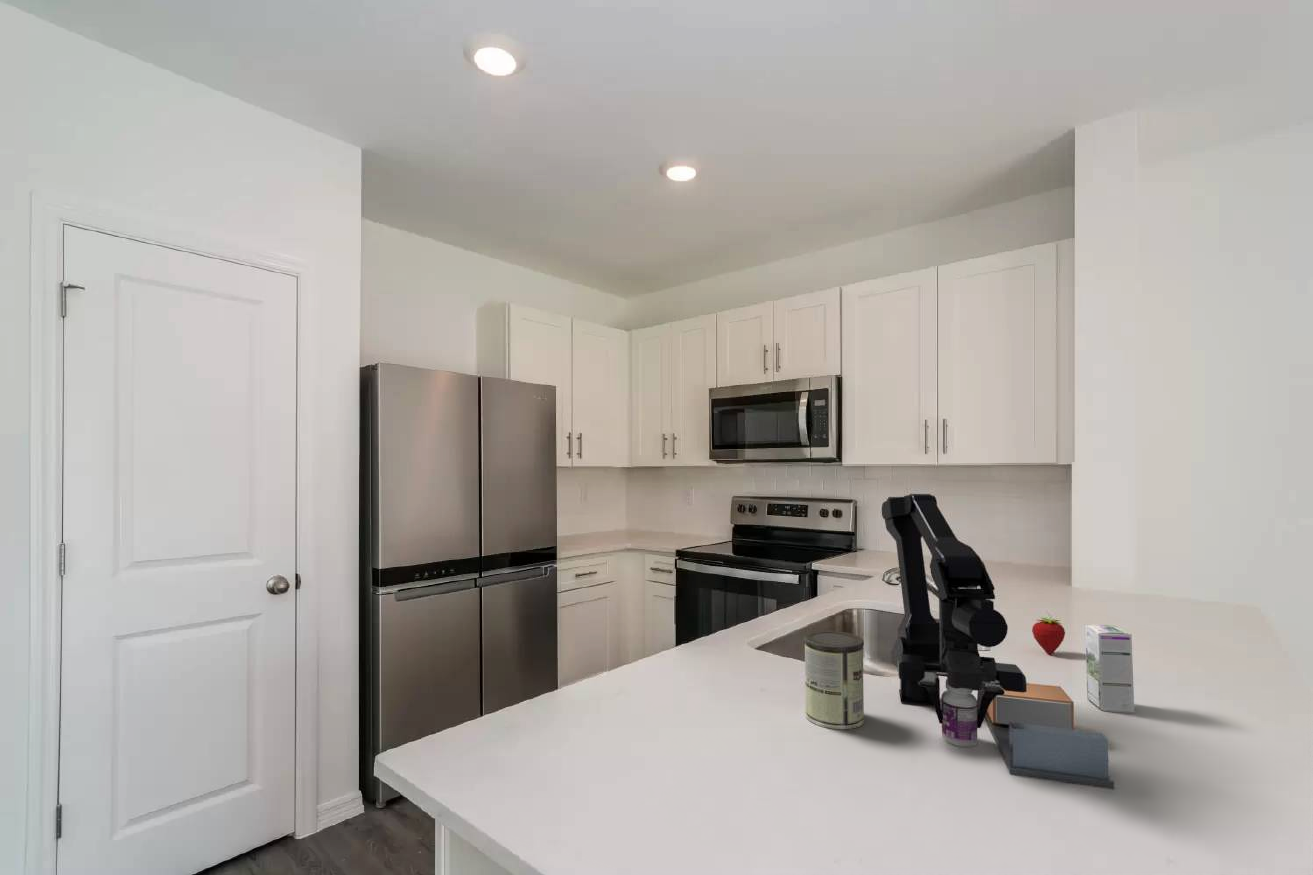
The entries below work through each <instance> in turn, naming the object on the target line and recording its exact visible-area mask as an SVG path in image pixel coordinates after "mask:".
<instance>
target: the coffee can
mask: <svg viewBox="0 0 1313 875" xmlns="http://www.w3.org/2000/svg"><path fill="white" fill-rule="evenodd" d="M803 641H804V685H805V687H804V688H805V689H804V690H805V691H804V692H805V693H804V696H805V712H804V715H805V718H806V719H807V720H808V721H809V722H811V723H812V724H814V725H816V726H819V727H822V728H825V729H832V730H852V729H856V728H859V727H861V726H862V725H863V724H864V723H865V718H864V717H865V714H864V712H865V710H864V709H865V707H864V705H865V702H864V699H865V698H864V645H865V641H864V639H863V637H860V636H858V635H856V634H854V633H850V632H845V631H837V630H817V631H812V632H808V633H806V634H804V636H803Z"/></svg>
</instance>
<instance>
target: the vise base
mask: <svg viewBox="0 0 1313 875" xmlns="http://www.w3.org/2000/svg"><path fill="white" fill-rule="evenodd" d="M984 721H985V723H986V726H987V728H988V731H989V732H990V734H991V736H992V739H993V740H994V743H995V744H996V747H997V749H998V752H999V753H1000V756H1001V757H1002V759H1003V760H1002V761H1004V763H1005V767H1006V769H1007V770H1008V772H1009V775H1012V776H1018V777H1025V778H1033V779H1040V780H1045V781H1046V780H1048V781H1052V782H1053V781H1054V782H1061V783H1067V784H1076V785H1083V786H1089V787H1095V788H1103V789H1109V790H1110V789H1111V790H1115V781H1114V780H1113V778H1112V777H1111V776H1110V774H1109V739H1108V738H1107V737H1106V736H1105V735H1104V734H1103V733H1102V732H1099V731H1098V732H1097V731H1090V730H1089V731H1088V730H1081V729H1074V730H1073V729H1064V728H1056V727H1047V726H1039V725H1030V724H1022V723H1013V722H1009V725H1005V724H997V723H993V722H992V720H991V718H990V716H989V714H988V712H986V715H985V717H984Z"/></svg>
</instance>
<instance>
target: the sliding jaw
mask: <svg viewBox="0 0 1313 875" xmlns="http://www.w3.org/2000/svg"><path fill="white" fill-rule="evenodd" d="M1026 688H1027V692H1024V693H1023V692H1013V691H1005V690H1004V689H1003V690H1004V692H1005V693H1004V695H997V696H996V697H995V698H994V699H993V700H992V702H991V704H990V705H989V707H988V710H987V712H988V714H989V716H990V718H991V720H992V722H993V723H997V724H1005V725H1009V722H1013V723H1022V724H1030V725H1039V726H1047V727H1056V728H1064V729H1073V730H1075V707H1074V706H1075V703H1074V701H1073V699H1072V697H1070V696H1069V695H1068V694H1067V693H1066V691H1065V690H1064V689H1063V688H1062V687H1061V686H1058V685H1050V684H1049V685H1048V684H1038V683H1030V682H1029V683H1028V682H1026Z"/></svg>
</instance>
